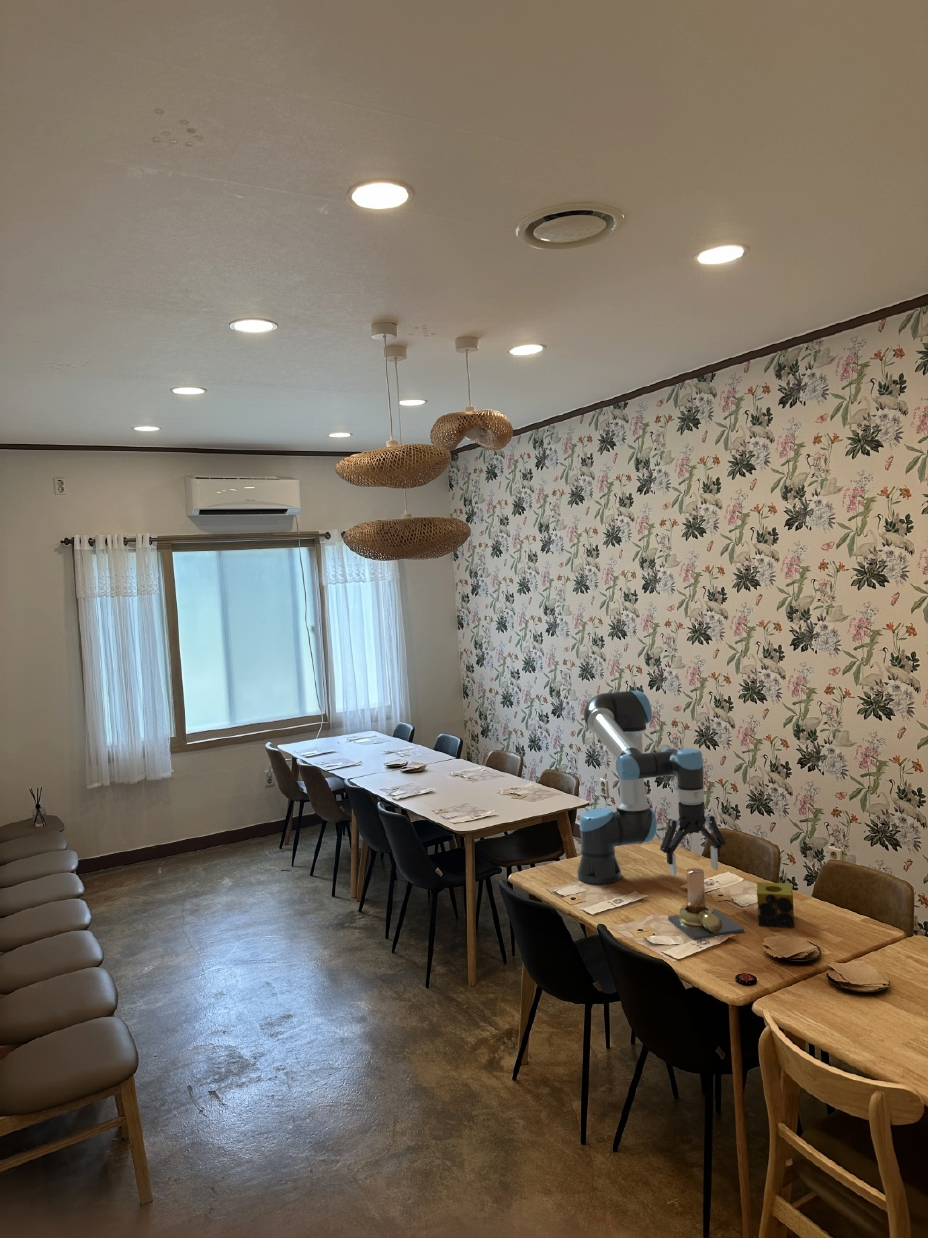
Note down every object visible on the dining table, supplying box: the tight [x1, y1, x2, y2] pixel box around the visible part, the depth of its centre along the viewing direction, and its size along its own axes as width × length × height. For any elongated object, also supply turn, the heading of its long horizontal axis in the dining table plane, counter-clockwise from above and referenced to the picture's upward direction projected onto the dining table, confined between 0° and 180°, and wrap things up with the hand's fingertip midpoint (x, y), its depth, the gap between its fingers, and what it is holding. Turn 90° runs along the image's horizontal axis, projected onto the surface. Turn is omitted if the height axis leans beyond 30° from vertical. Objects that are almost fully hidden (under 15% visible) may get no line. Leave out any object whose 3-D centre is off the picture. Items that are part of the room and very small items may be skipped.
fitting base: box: [667, 903, 745, 941], centre depth 251 cm, size 16×16×5 cm
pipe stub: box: [686, 867, 706, 914], centre depth 253 cm, size 5×5×14 cm
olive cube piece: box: [756, 881, 795, 929], centre depth 251 cm, size 10×10×10 cm
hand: (694, 871), depth 253 cm, fingers open, 13 cm apart
